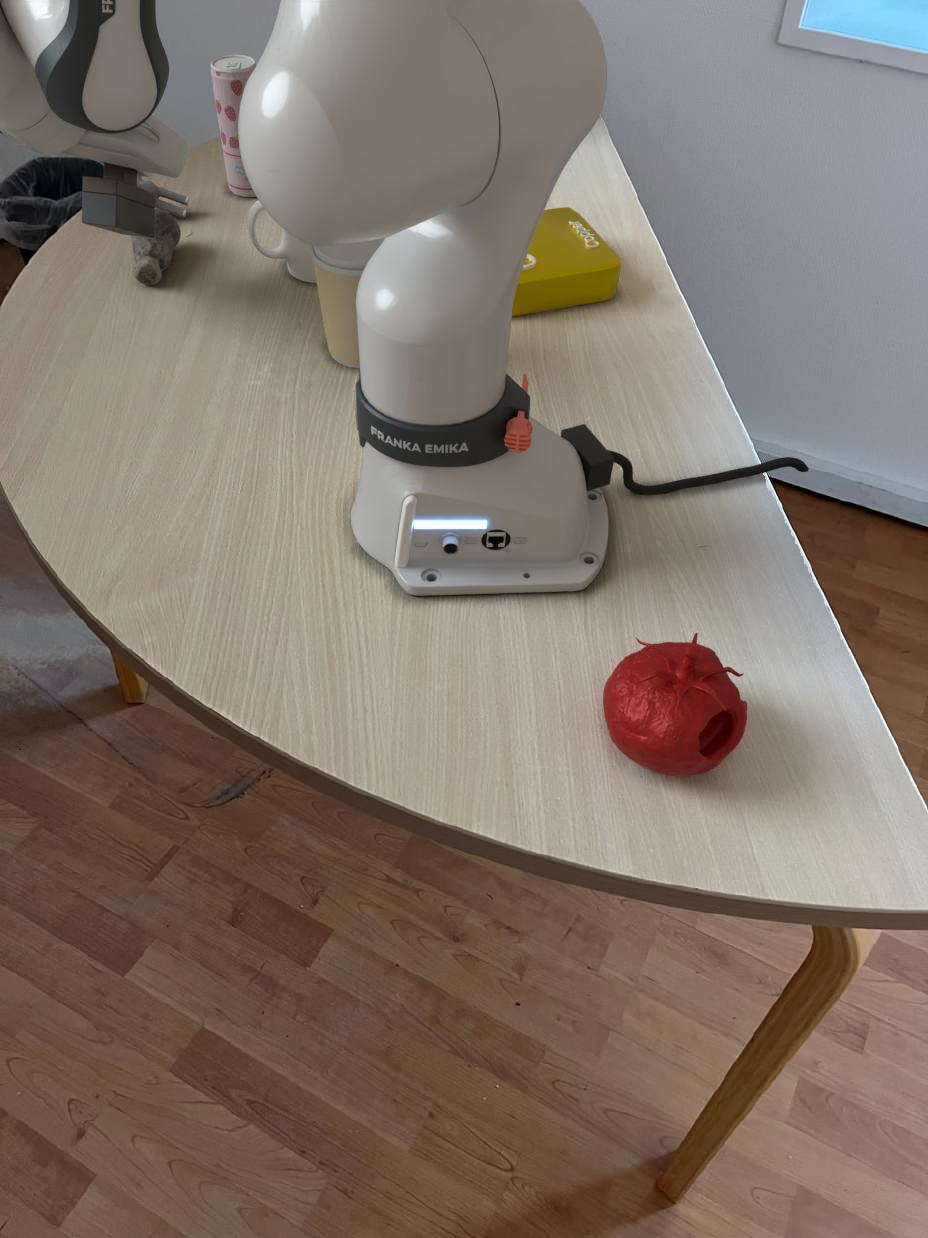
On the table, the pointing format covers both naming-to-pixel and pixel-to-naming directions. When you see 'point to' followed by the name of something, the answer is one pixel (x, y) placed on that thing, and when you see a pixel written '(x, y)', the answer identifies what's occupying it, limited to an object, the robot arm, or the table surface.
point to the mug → (285, 249)
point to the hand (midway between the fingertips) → (131, 165)
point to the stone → (155, 248)
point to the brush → (118, 203)
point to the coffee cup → (341, 294)
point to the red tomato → (674, 708)
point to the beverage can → (232, 114)
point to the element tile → (565, 265)
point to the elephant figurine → (166, 194)
